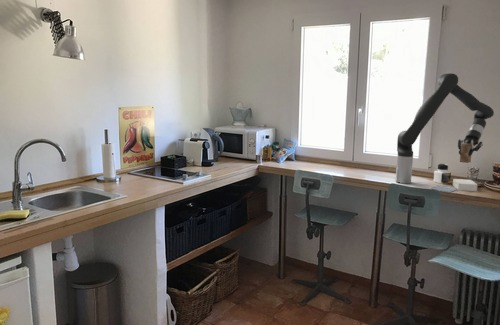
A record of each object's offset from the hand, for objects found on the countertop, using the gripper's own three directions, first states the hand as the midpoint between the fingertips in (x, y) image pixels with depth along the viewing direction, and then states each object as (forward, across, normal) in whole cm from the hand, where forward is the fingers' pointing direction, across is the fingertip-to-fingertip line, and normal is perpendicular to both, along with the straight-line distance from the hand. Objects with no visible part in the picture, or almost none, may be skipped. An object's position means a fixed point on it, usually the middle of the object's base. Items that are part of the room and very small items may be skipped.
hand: (464, 154), depth 237 cm
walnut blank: (+2, 0, +5) cm, 5 cm away
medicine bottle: (+9, -16, +21) cm, 28 cm away
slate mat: (+22, -6, +7) cm, 24 cm away
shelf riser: (+13, +1, +17) cm, 21 cm away
